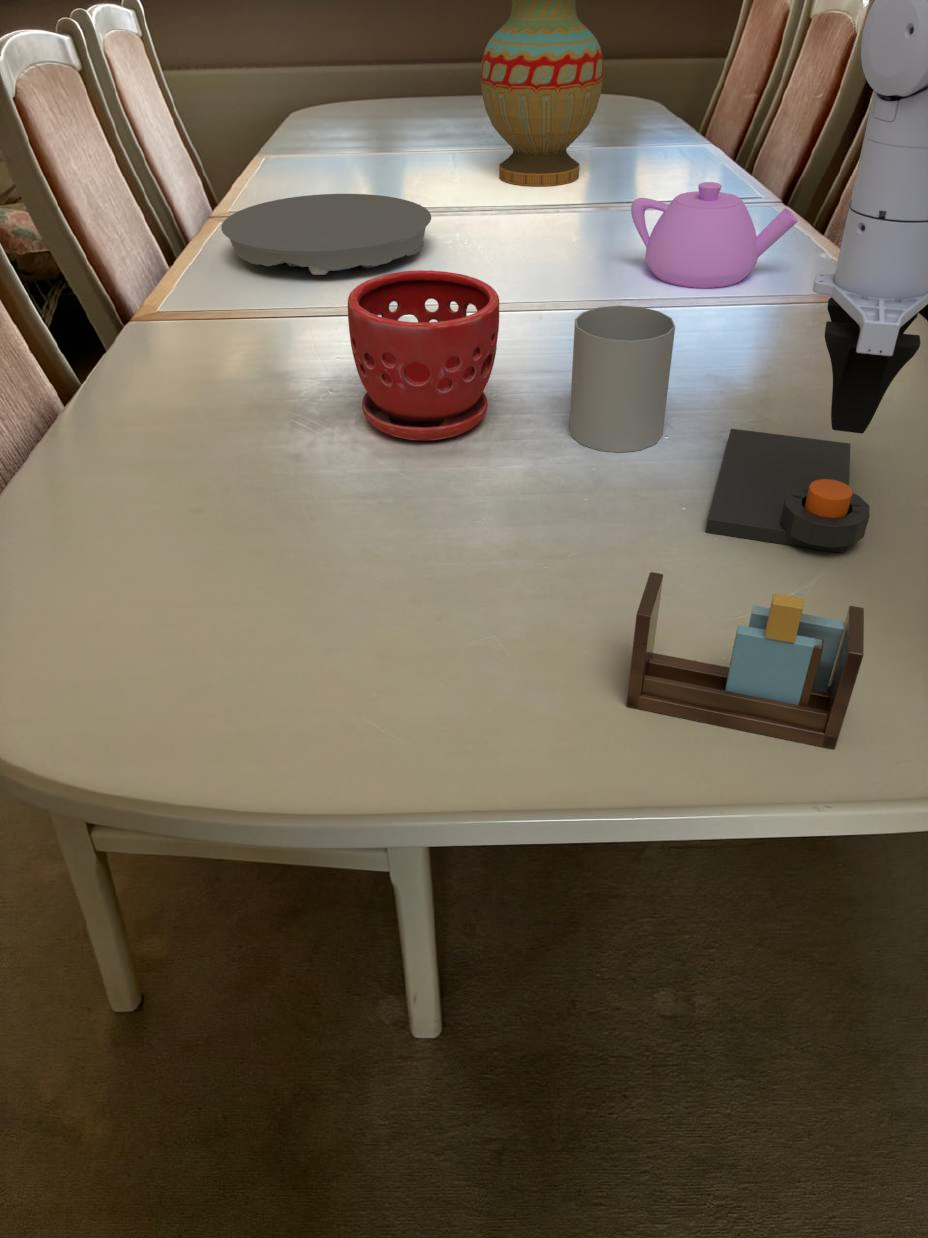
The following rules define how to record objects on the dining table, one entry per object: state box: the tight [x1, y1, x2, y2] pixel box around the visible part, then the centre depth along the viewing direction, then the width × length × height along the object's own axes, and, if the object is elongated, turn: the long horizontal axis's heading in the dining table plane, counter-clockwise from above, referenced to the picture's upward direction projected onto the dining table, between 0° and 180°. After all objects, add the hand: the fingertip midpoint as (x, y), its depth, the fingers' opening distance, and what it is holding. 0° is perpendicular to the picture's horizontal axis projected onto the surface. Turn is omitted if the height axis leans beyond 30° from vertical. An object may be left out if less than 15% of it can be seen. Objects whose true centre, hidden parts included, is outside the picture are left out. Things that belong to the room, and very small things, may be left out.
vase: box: [480, 0, 604, 187], centre depth 155 cm, size 20×20×30 cm
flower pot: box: [347, 269, 500, 441], centre depth 86 cm, size 13×13×12 cm
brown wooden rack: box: [625, 571, 865, 750], centre depth 56 cm, size 12×4×7 cm, turn 71°
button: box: [805, 479, 854, 518], centre depth 70 cm, size 3×3×2 cm
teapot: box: [630, 181, 798, 289], centre depth 118 cm, size 14×20×11 cm
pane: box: [725, 593, 824, 707], centre depth 54 cm, size 5×1×7 cm, turn 71°
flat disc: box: [220, 193, 432, 276], centre depth 130 cm, size 28×28×4 cm
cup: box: [568, 304, 676, 454], centre depth 84 cm, size 8×8×10 cm
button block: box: [705, 428, 870, 554], centre depth 76 cm, size 18×11×3 cm, turn 161°
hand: (848, 417), depth 66 cm, fingers open, 3 cm apart
